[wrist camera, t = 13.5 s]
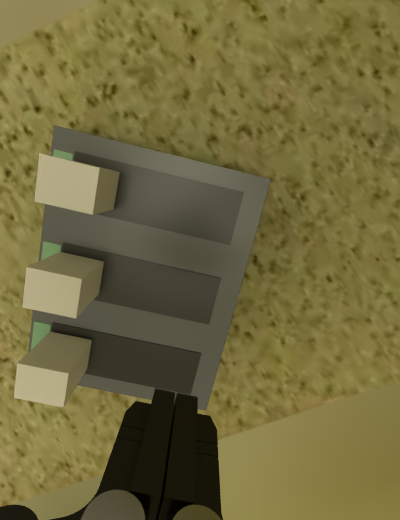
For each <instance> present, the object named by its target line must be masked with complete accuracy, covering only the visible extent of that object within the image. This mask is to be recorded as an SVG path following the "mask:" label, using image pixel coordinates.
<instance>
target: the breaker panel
mask: <svg viewBox="0 0 400 520" xmlns="http://www.w3.org/2000/svg"><path fill="white" fill-rule="evenodd" d="M51 156H54V157H59V158H63V159H68V160H72V161H77V162H81V163H85V164H89V165H93V166H97V167H101V168H106V169H110V170H114V171H118V172H120V174H119V180H118V186H117V192H116V198H115V204H114V209H113V210H109V211H105V212H102V213H98V214H94V215H91V214H87V213H83V212H78V211H74V210H70V209H65V208H61V207H57V206H52V205H48V204H45V210H44V219H43V228H42V237H41V246H40V255H39V261H41V260H43V259H45V258H47V257H49V256H52V255H54V254H56V253H58V252H64V253H68V254H73V255H77V256H82V257H86V258H91V259H95V260H100V261H104V266H103V272H102V278H101V284H100V290H99V294H98V296H97V297H96V298H95V299H94V300H93V301H92V302H91V303H90V304H89V305H88V306H87V307H86V308H85V309H84V311H83V312H82V313H81V314H80V315H79V316H78V317H77V318H76V319H75V318H71V317H66V316H61V315H56V314H52V313H47V312H42V311H37V310H33V316H32V325H31V334H30V343H29V352H30V351H31V350H32V349H33V348H34V347H35V346H36V345H37V344H38V343H39V342H40V341H41V340H42V339H43V338H44V337H45V336H46V335H47V334H48V333H49V332H55V333H60V334H65V335H70V336H74V337H79V338H84V339H89V340H92V343H91V349H90V355H89V361H88V367H87V370H86V371H85V373H84V375H83V376H82V378H81V380H80V381H79V383H78V385H79V386H84V387H89V388H94V389H99V390H104V391H109V392H114V393H119V394H124V395H130V396H135V397H140V398H145V399H150V400H152V399H153V395H154V391H155V388H157V389H162V390H167V391H172V392H175V398H176V394H177V393H182V394H187V395H191V396H196V397H198V409H201V410H206V408H207V405H208V401H209V398H210V394H211V391H212V387H213V383H214V380H215V376H216V373H217V369H218V366H219V362H220V359H221V355H222V352H223V348H224V344H225V341H226V337H227V334H228V330H229V327H230V323H231V320H232V316H233V312H234V309H235V305H236V302H237V298H238V295H239V291H240V288H241V284H242V281H243V277H244V273H245V270H246V266H247V263H248V259H249V256H250V252H251V249H252V245H253V241H254V238H255V234H256V231H257V227H258V224H259V220H260V217H261V213H262V210H263V206H264V202H265V199H266V195H267V192H268V188H269V185H270V181H271V179H268V178H264V177H260V176H256V175H252V174H248V173H244V172H240V171H236V170H232V169H228V168H224V167H220V166H216V165H212V164H208V163H204V162H200V161H196V160H192V159H188V158H184V157H180V156H176V155H172V154H168V153H163V152H159V151H155V150H151V149H147V148H143V147H139V146H135V145H131V144H127V143H123V142H119V141H115V140H111V139H107V138H103V137H99V136H95V135H91V134H87V133H83V132H79V131H75V130H71V129H67V128H63V127H59V126H55V125H54V131H53V140H52V148H51ZM29 352H28V353H29ZM174 402H175V400H174Z"/></svg>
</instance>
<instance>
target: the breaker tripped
mask: <svg viewBox="0 0 400 520" xmlns="http://www.w3.org/2000/svg"><path fill="white" fill-rule="evenodd" d="M103 266H104V261H100V260H95V259H91V258H86V257H82V256H77V255H73V254H68V253H64V252H58V253H56V254H54V255H52V256H49V257H47V258H45V259H43V260H41V261H39V262H36V263H34V264H32V265H30V266H28V267H27V268H26V278H25V288H24V297H23V308H28V309H33V310H37V311H42V312H47V313H52V314H56V315H61V316H66V317H71V318H75V319H76V318H77V317H78V316H79V315H80V314H81V313H82V312H83V311H84V309H85V308H86V307H87V306H88V305H89V304H90V303H91V302H92V301H93V300H94V299H95V298H96V297H97V296H98V294H99V290H100V284H101V278H102V272H103Z"/></svg>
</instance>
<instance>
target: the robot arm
mask: <svg viewBox="0 0 400 520" xmlns="http://www.w3.org/2000/svg"><path fill="white" fill-rule="evenodd" d="M174 400H175V402H174ZM197 410H198V397H196V396H191V395H187V394H182V393H177V394H176V398H175V392H172V391H167V390H162V389H157V388H155V391H154V395H153V399H152V403H151V404H147V403H143V402H138V401H136V402H135V403H134V404H133V405H132V406H131V407H130V408H129V409H128V410H127V411H126V412H125V415H124V418H123V421H122V424H121V427H120V429H119V432H118V435H117V438H116V441H115V444H114V446H113V449H112V452H111V455H110V458H109V461H108V464H107V466H106V469H105V472H104V475H103V478H102V481H101V484H100V487H99V489H98V491H97V493H96V494H95V496H94V497H93V499H92V500H91V501H90V502H89V503H88V504H87V505H86V506H85V507H84V508H82V509H81V510H79V511H78V512H76V513H74V514H71V515H69V516H66V517H62V518H57V519H51V520H223V518H222V514H221V503H220V502H221V500H220V481H219V463H218V462H219V461H218V447H217V445H218V443H217V429H216V427H215V425H214V423H213V421H212V419H211V417H210V416H207V415H202V414H197ZM0 520H38V518H37V516H36V515H35V513H34V512H33V511H32V510H30V509H29V508H27V507H25V506H21V505H7V506H3V507H0Z"/></svg>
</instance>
